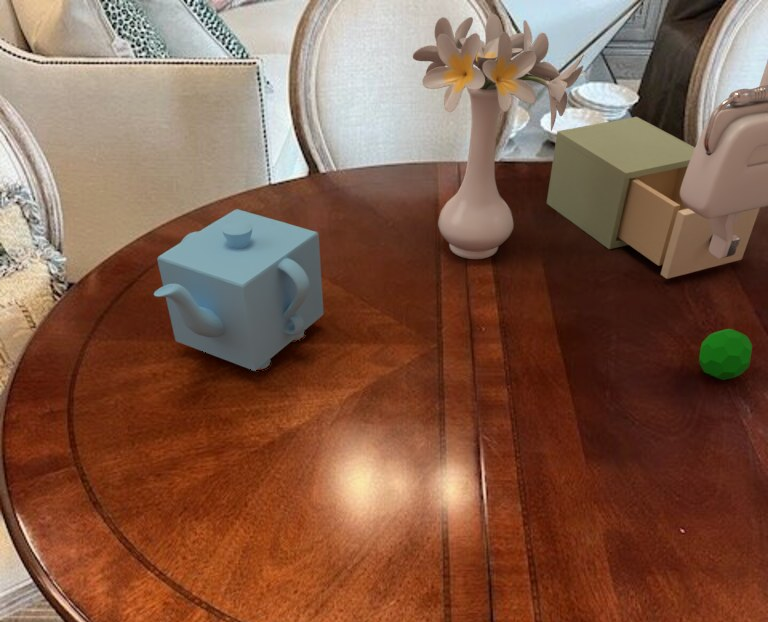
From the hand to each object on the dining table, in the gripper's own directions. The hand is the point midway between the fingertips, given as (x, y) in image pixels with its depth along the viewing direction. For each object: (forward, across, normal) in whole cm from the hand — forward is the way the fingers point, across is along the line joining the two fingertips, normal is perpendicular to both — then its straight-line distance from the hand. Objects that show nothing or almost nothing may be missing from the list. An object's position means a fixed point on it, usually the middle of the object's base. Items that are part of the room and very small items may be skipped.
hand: (761, 244), depth 70 cm
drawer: (+13, +12, +22) cm, 29 cm away
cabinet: (+14, +12, +34) cm, 38 cm away
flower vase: (+14, -9, +34) cm, 38 cm away
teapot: (+15, -44, +24) cm, 52 cm away
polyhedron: (+14, 0, 0) cm, 14 cm away
